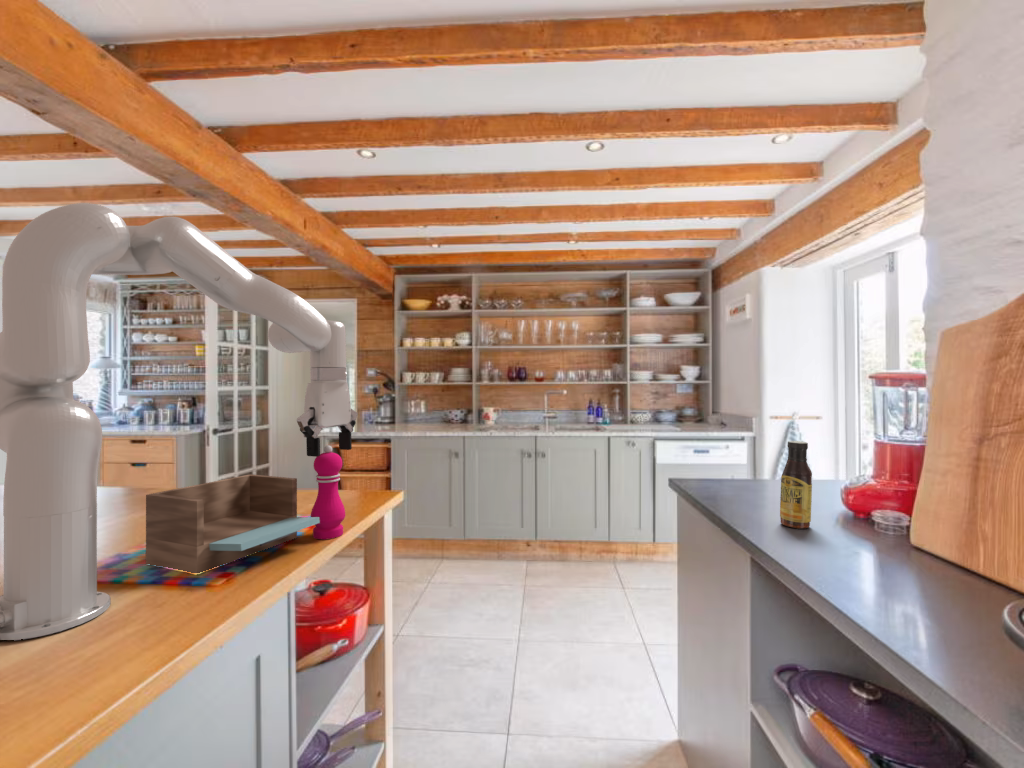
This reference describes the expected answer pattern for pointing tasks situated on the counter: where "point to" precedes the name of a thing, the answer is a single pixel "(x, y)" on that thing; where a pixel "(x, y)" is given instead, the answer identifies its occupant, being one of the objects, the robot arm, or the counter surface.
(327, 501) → the pepper mill
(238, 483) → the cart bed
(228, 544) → the panel
